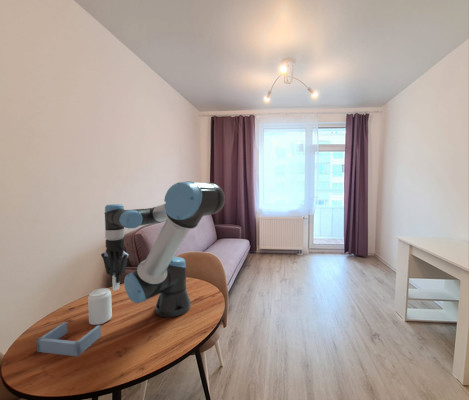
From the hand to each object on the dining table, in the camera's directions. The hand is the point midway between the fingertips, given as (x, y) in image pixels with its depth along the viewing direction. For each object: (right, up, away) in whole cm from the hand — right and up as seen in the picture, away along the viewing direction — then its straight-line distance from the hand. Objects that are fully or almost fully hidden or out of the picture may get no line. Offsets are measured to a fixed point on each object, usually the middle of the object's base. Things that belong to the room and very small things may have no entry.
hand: (116, 289), depth 100 cm
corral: (-3, -9, -24) cm, 26 cm away
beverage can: (-1, -9, -10) cm, 13 cm away
